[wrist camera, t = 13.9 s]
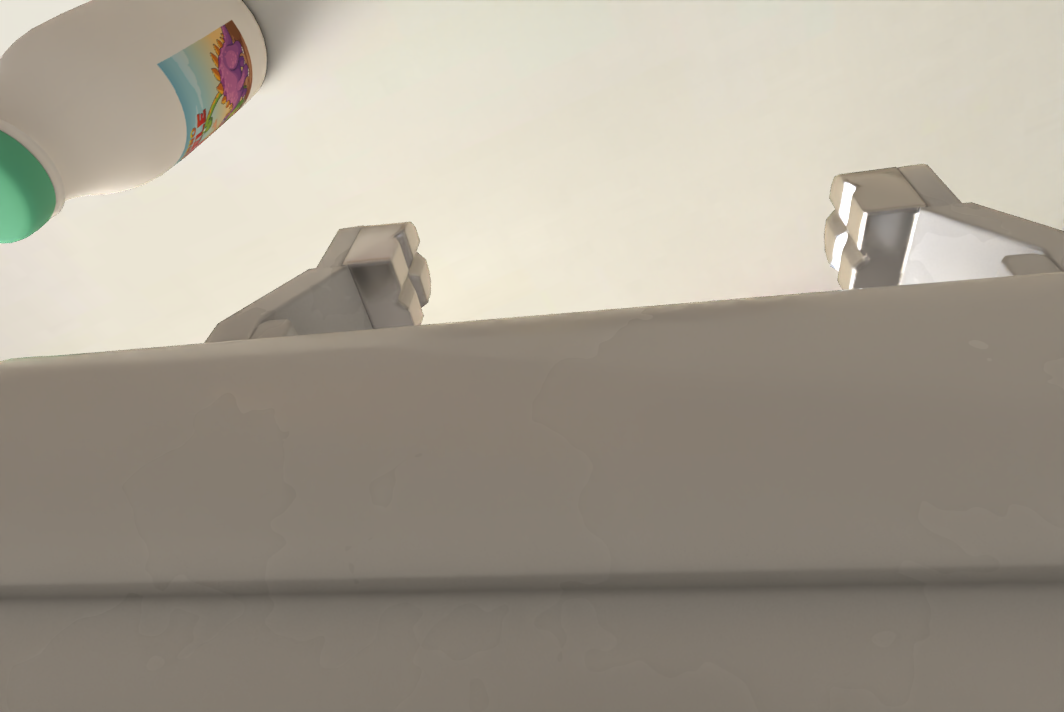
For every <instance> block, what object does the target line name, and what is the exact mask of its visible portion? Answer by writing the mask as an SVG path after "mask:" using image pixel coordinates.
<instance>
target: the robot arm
mask: <svg viewBox="0 0 1064 712" xmlns="http://www.w3.org/2000/svg"><path fill="white" fill-rule="evenodd" d="M829 199H830V200H831V202H832V204H833V206H834V208H835V210H834V211H833V212H832V213H831V215H830V216H829V217H828V218H827V219H826V224H825V233H824V243H825V253H826V257H827V260H828V262H829V264H830V266H831V267H832V268H834V269H836V270H838V271H839V273H838V279H837V281H838V283H839V285H840V286H841V288H842V290H837V291H825V292H813V293H801V294H789V295H777V296H765V297H753V298H741V299H729V300H717V301H705V302H693V303H681V304H669V305H657V306H645V307H633V308H621V309H609V310H597V311H585V312H573V313H561V314H548V315H536V316H524V317H512V318H500V319H488V320H476V321H464V322H452V323H440V324H428V325H421V323H422V320H423V317H424V315H423V312H422V309H421V308H422V307H423V306H424V305H426V304H427V303H428V301H429V297H430V294H431V279H430V273H429V268H428V265H427V261H426V259H425V258H424V257H422V256H421V255H420V254H419V253H418V252H416V251H417V248H418V246H419V243H420V239H419V236H418V233H417V230H416V227H415V226H414V225H413V224H412V222H402V223H391V224H380V225H369V226H363V225H362V226H356V227H349V228H343V229H339V230H338V232H337V234H336V235H335V237H334V239H333V240H332V242H331V244H330V246H329V247H328V249H327V251H326V252H325V254H324V256H323V257H322V259H321V261H320V263H319V264H318V266H317V268H314V269H308V270H307V271H305V272H303V273H302V274H300V275H298V276H297V277H295V278H293V279H292V280H290V281H288V282H287V283H285V284H283V285H282V286H280V287H278V288H277V289H275V290H273V291H272V292H270V293H268V294H267V295H265V296H263V297H262V298H260V299H258V300H257V301H255V302H253V303H252V304H250V305H248V306H247V307H245V308H243V309H241V310H240V311H238V312H236V313H235V314H233V315H231V316H230V317H228V318H226V319H225V320H223V321H221V322H220V323H218V324H217V326H216V327H215V328H214V330H213V331H212V333H211V334H210V335H209V337H208V338H207V340H206V341H205V343H201V344H189V345H177V346H166V347H154V348H142V349H130V350H118V351H106V352H94V353H82V354H70V355H58V356H38V357H24V358H13V359H8V360H3V361H0V712H1064V231H1062V230H1058V229H1055V228H1052V227H1049V226H1046V225H1042V224H1039V223H1036V222H1033V221H1030V220H1026V219H1023V218H1020V217H1017V216H1013V215H1010V214H1007V213H1004V212H1001V211H997V210H994V209H991V208H988V207H985V206H981V205H978V204H975V203H972V202H971V203H961V201H960V200H959V199H958V198H957V197H956V196H955V195H954V194H953V193H952V191H951V190H950V189H949V188H948V187H947V186H946V185H945V184H944V183H943V181H942V180H941V179H940V178H939V177H938V176H937V175H936V174H935V173H934V171H933V170H932V169H931V168H930V167H929V166H928V165H926V164H917V165H910V166H904V167H897V168H896V167H892V168H884V169H877V170H869V171H862V172H854V173H847V174H839V175H837V176H835V177H834V179H833V182H832V185H831V190H830V196H829Z"/></svg>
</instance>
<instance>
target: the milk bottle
mask: <svg viewBox="0 0 1064 712" xmlns="http://www.w3.org/2000/svg"><path fill="white" fill-rule="evenodd" d="M266 69H267V53H266V47H265V42H264V38H263V36H262V33H261V30H260V27H259V25H258V24H257V22H256V20H255V18H254V16H253V14H252V13H251V12H250V10H249V9H248V8H247V6H246V5H245V4H244V2H243V1H242V0H92V1H89V2H87V3H85V4H82V5H80V6H78V7H76V8H73V9H71V10H69V11H67V12H64V13H62V14H60V15H58V16H56V17H54V18H52V19H50V20H48V21H46V22H44V23H42V24H40V25H38V26H37V27H35V28H33V29H31V30H30V31H28V32H27V33H26V34H24V35H23V36H22V37H20V38H19V39H18V40H16V41H15V42H14V43H13V44H12V45H11V46H10V47H9V48H8V49H7V51H6V52H5V53H4V54H3V56H2V57H1V59H0V243H12V242H16V241H19V240H22V239H24V238H27V237H28V236H30V235H31V234H33V233H34V232H36V231H37V230H38V229H40V228H41V227H42V226H43V225H44V224H45V223H46V222H48V220H49V219H51V218H53V217H54V216H56V215H57V214H58V213H59V212H60V211H61V209H62V208H63V206H64V203H65V201H66V200H69V199H73V198H76V197H81V196H89V195H103V194H112V193H119V192H123V191H127V190H131V189H134V188H137V187H139V186H142V185H144V184H147V183H149V182H150V181H152V180H154V179H156V178H158V177H159V176H161V175H163V174H164V173H165V172H167V171H168V170H169V169H171V168H172V167H173V166H174V165H176V164H177V163H178V162H180V161H181V160H182V159H184V158H185V157H186V156H187V155H188V154H189V153H191V152H192V151H193V150H194V149H195V148H196V147H198V146H199V145H200V144H201V143H202V142H203V141H204V140H206V139H207V138H208V137H209V136H210V135H211V134H212V133H214V132H215V131H216V130H217V129H218V128H219V127H220V126H221V125H223V124H224V123H225V122H226V121H227V120H228V119H229V118H230V117H231V116H233V115H234V114H235V113H236V112H237V111H238V110H239V109H240V108H241V107H243V106H244V105H245V104H246V103H247V102H248V101H249V100H250V99H251V98H252V97H253V96H254V95H255V94H256V93H257V91H258V90H259V89H260V87H261V85H262V83H263V81H264V78H265V74H266Z"/></svg>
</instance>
